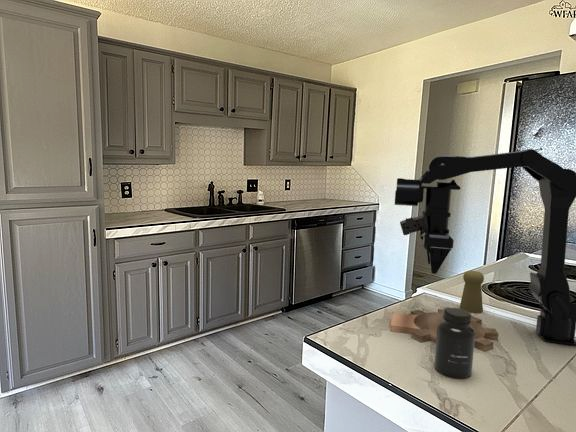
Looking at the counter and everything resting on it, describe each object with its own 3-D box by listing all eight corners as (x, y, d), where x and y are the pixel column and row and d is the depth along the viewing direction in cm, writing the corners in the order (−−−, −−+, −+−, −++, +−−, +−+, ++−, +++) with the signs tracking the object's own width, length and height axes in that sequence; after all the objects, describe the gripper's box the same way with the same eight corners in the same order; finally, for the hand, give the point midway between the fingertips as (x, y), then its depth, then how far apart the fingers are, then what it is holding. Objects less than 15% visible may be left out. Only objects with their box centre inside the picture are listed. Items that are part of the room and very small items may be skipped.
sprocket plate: (487, 320, 98) (488, 300, 97) (508, 359, 78) (510, 334, 77) (392, 309, 105) (393, 290, 104) (389, 342, 85) (390, 319, 84)
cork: (487, 313, 102) (490, 274, 101) (465, 313, 103) (468, 274, 101) (476, 305, 108) (479, 268, 107) (455, 305, 109) (458, 268, 107)
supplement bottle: (455, 383, 69) (460, 321, 67) (426, 365, 75) (430, 308, 73) (480, 374, 72) (484, 314, 70) (450, 358, 78) (453, 303, 76)
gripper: (402, 202, 103) (398, 257, 105) (403, 209, 85) (399, 275, 87) (445, 204, 99) (440, 261, 102) (456, 212, 82) (450, 280, 84)
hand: (432, 268), depth 93 cm, fingers open, 9 cm apart
